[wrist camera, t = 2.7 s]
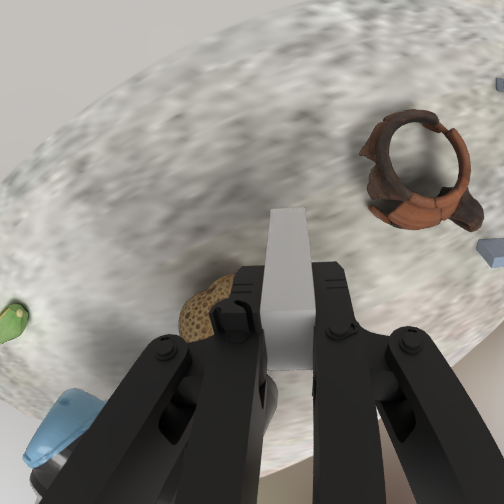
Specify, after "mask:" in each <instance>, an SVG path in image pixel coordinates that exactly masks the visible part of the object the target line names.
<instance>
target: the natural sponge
mask: <svg viewBox="0 0 504 504" xmlns="http://www.w3.org/2000/svg"><path fill="white" fill-rule="evenodd" d="M234 275H235V274H229V275H225V276H223V277H221V278H219V279H218V280H216V281H215V282H213V283H212V284H211V286H210V287H209V288H208V289H207V290H206V291H203V292H200V293H198V294H195V295H194V296H193V297H191V298H190V299H189V300H188V301H187V302H186V303H185V305H184V306H183V308H182V310H181V313H180V317H179V334H180V337H182V338H183V339H184V340H185V341H186V342H187V343H190V342H194V341H198V340H202V339H205V338H208V337H210V336H212V335H214V331H213V328H212V324H211V321H210V317H209V314H208V313H209V311H210V309H211V308H212V306H214V305H215V304H216V303H217V302H219V301H221V300H224V299H226V298H229V297H230V294H231V288H232V286H233V280H234Z"/></svg>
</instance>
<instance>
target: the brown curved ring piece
mask: <svg viewBox="0 0 504 504" xmlns="http://www.w3.org/2000/svg"><path fill="white" fill-rule="evenodd" d="M411 122H420V123H422V124H423V126H424V127H426V128H428V129H430V130H432V131H434V132H437V133H440V132H442V133H443V134H444V135H445V136H446V138H447V139H448V140H449V141H450V143H451V144H452V146H453V148H454V150H455V152H456V155H457V158H458V163H459V174H458V180H457V182H456V184H455V186H454V187H442V188H441V191H440V193H439V195H438V196H437V197H434V198H433V197H425V196H422V195H419V194H417V193H415V192H413V191H410V190H409V189H408V188H407V187H406V186H405V185H404V184H403V183H402V182H401V181H400V179H399V178H398V176H397V175H396V173H395V171H394V169H393V167H392V164H391V161H390V157H389V145H390V141H391V138H392V135H393V134H394V132H395V131H396V130H397V129H398V128H400V127H401V126H402V125H405V124H408V123H411ZM359 155H360V156H365V157H367V158H368V159H371V160H372V161H374V162H375V163H376V165H375V166H374V167H373V168H372V169H371V172H370V174H369V183H368V185H367V191H368V193H369V195H370V197H371V198H372V199H373V200H375V199H379V198H382V199H392V200H399V201H402V202H401V204H400V205H399V206H398V207H397V208H396V209H394V210H392V211H391V212H390V213H389V214H388V215H385V214H383V213H382V212H381V211H379V210H378V209H377V208H376V207H374V206H370V207H369V210H370V211H371V212H372V213H373V214H374V215H375V216H376V217H377V218H379V219H381V220H382V221H383V222H385V223H388V224H390V225H392V226H393V227H396V228H400V229H408V230H420V229H424V228H430V227H433V226H436V225H438V224H440V222H441V220H443V221H444V220H446V219H450V220H451V221H453V222H454V223H455V224H457V225H458V226H460V227H462V228H463V229H465V230H467V231H469V232H473V231H476V230H478V229H479V228H480V227H481V226H482V222H483V220H484V212H483V208H482V206H481V205H480V204H479V202H478V201H477V200H476V199H474V198H473V197H472V196H471V194H470V193H469V190H468V184H469V181H470V173H471V164H470V157H469V153H468V150H467V147H466V145H465V142H464V140H463V139H462V137H461V136H460V134H459V133H458V132H457V130H456V129H455V128H452V129H450V130H447V129H446V128H445V127H444V126H443V125H442V124H441V123H440V122H439V119H438V117H437V116H436V114H435V113H433V112H430V111H426V110H415V109H413V110H406V111H404V112H398V113H394V114H391V115H389V116H387V117H385V118H384V119H383V122H380V123H378V124H377V125H376V126H375V128H374V129H373V131H372V133H371V135H370V137H369V139H368V140H367V142H366V143H365V145H364V146H363V147H362V149H361V151H360V153H359Z"/></svg>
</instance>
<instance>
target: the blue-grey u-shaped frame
mask: <svg viewBox="0 0 504 504" xmlns="http://www.w3.org/2000/svg"><path fill="white" fill-rule="evenodd" d="M497 90H498V91H502V92H504V79H500V78H497ZM476 250H477V251H478V252H479V253H480V254H481V256H482V257H483V258H484V259H485V261H486V262H487V263H488V264H489V266H490V267H491V268H497V267H504V239H484V240H479V241H478V245H477V249H476Z"/></svg>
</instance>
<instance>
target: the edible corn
mask: <svg viewBox="0 0 504 504" xmlns="http://www.w3.org/2000/svg"><path fill="white" fill-rule="evenodd" d="M27 320H28V312H26V310H25V309H24V308H23V307H22V306H21V305H20V304H12V305H9V306H7V307H5V308H4V310H3V311H2V312H1V313H0V344H3V343H4V342H6V341H9V340H12V339H14V338H16V337H18V336H20V335H21V334H22V333H23V331H24V329H25V327H26V325H27Z"/></svg>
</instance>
